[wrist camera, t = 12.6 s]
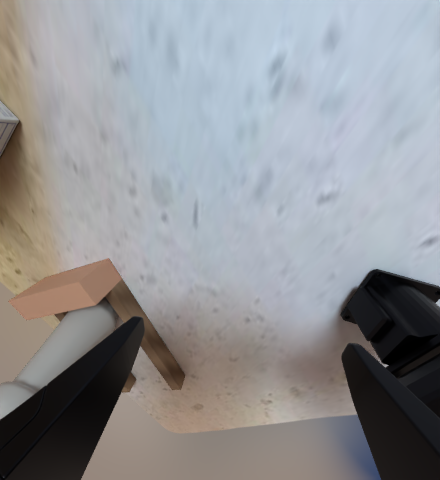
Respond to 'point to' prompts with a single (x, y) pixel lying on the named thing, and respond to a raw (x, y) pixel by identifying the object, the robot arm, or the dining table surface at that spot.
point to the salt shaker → (59, 352)
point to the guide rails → (151, 339)
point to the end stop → (67, 290)
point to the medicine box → (6, 125)
